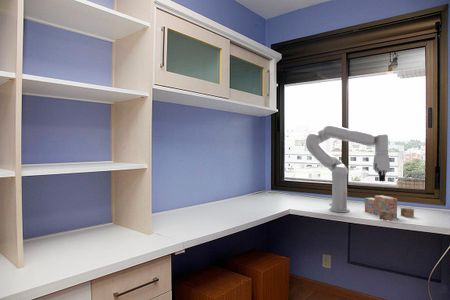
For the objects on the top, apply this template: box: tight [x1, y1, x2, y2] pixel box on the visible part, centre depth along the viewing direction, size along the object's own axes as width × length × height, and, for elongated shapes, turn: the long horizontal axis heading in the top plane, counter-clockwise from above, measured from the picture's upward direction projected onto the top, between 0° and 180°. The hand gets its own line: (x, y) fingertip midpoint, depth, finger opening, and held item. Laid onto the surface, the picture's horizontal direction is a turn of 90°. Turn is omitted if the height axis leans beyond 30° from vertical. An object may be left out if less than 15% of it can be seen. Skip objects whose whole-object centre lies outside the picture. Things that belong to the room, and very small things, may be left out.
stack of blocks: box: [364, 195, 398, 219], centre depth 193 cm, size 21×6×12 cm, turn 15°
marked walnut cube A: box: [379, 210, 393, 221], centre depth 180 cm, size 5×5×5 cm
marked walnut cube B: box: [400, 207, 415, 218], centre depth 188 cm, size 5×5×5 cm
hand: (382, 181), depth 193 cm, fingers closed
